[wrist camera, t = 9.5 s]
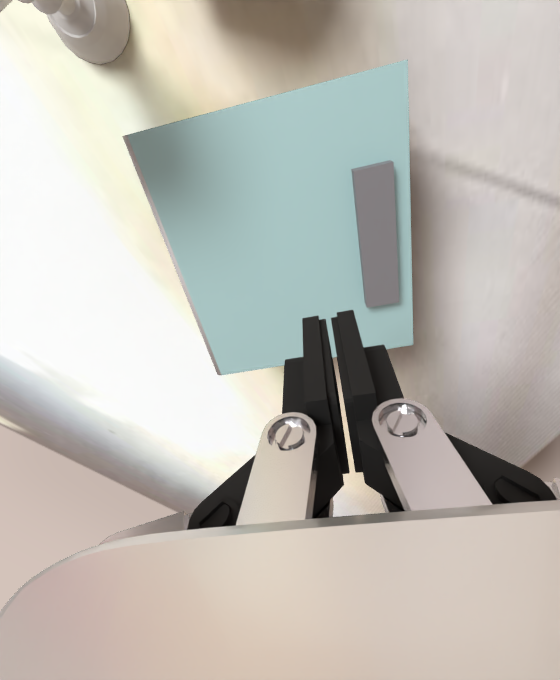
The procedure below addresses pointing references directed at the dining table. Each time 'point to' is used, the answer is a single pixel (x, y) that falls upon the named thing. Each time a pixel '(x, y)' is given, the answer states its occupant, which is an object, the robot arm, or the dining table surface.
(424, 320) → the dining table surface
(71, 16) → the chalice
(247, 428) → the dining table surface
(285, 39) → the dining table surface
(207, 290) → the lid
